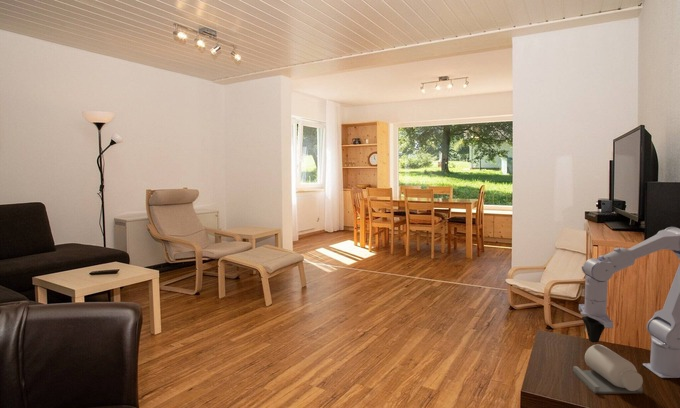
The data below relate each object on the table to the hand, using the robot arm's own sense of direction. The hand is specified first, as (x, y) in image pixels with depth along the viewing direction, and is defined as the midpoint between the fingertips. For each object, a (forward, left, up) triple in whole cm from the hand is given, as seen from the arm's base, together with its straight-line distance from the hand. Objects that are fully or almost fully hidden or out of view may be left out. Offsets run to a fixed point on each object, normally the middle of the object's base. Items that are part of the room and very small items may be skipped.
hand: (593, 341), depth 126 cm
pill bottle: (-1, -1, -5) cm, 5 cm away
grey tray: (0, +7, -9) cm, 12 cm away
